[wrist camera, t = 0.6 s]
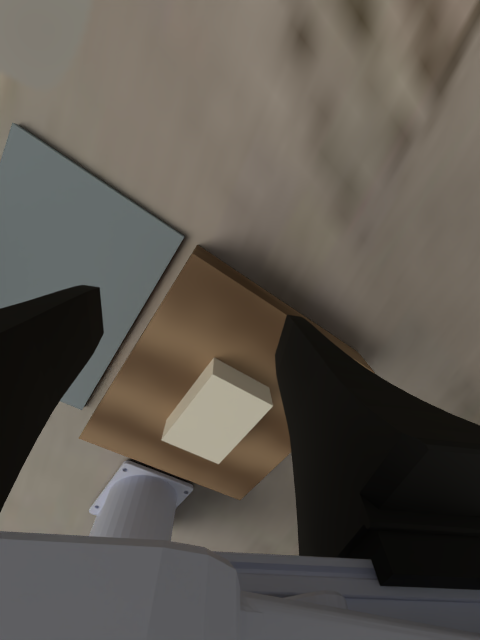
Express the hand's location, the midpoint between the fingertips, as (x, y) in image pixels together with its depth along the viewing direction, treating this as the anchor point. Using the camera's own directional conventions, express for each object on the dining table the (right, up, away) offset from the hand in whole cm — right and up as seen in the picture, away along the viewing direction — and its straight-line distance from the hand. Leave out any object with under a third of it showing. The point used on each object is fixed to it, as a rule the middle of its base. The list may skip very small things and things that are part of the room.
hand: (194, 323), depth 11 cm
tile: (0, -6, +11) cm, 12 cm away
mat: (-12, +2, +9) cm, 15 cm away
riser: (0, -5, +14) cm, 15 cm away
